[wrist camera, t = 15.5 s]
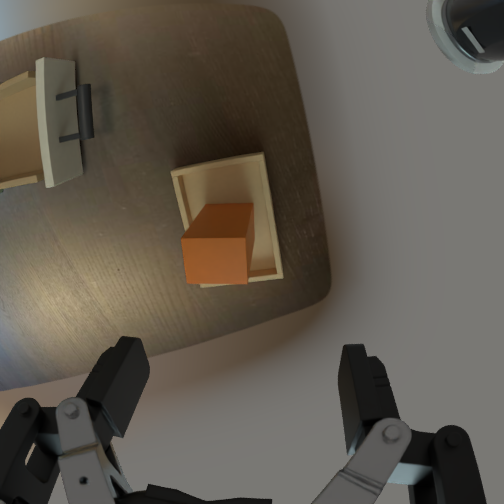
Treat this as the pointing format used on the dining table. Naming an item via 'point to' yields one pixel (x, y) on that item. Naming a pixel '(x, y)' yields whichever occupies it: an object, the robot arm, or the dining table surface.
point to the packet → (220, 244)
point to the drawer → (43, 125)
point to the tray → (234, 191)
